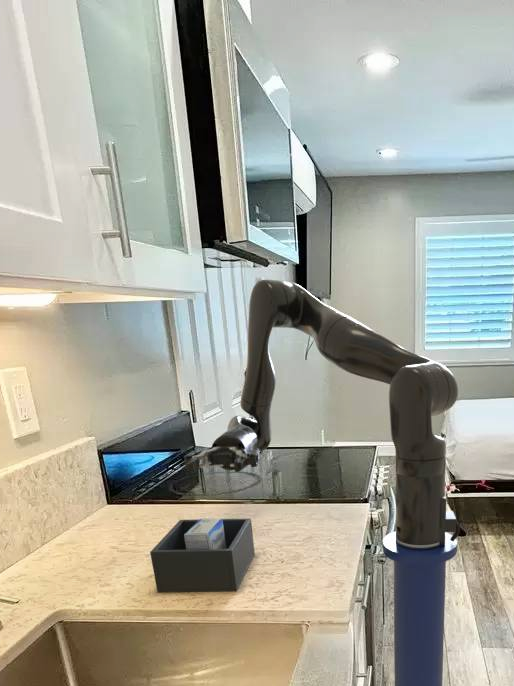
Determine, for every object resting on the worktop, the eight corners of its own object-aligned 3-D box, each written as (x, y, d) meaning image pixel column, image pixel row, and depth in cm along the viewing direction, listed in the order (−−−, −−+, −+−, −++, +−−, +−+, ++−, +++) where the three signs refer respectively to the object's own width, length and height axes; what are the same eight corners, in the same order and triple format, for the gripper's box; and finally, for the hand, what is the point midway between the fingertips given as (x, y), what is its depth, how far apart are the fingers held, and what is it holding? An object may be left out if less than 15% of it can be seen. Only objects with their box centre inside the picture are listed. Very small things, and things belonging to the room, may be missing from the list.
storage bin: (254, 554, 111) (250, 518, 108) (236, 591, 97) (231, 550, 94) (185, 556, 111) (180, 519, 109) (157, 593, 97) (149, 552, 94)
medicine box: (215, 579, 100) (208, 533, 97) (190, 579, 100) (183, 533, 97) (228, 560, 107) (223, 517, 104) (205, 560, 108) (199, 517, 104)
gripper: (198, 432, 122) (173, 449, 107) (264, 430, 121) (249, 446, 106) (203, 466, 124) (179, 487, 109) (268, 464, 124) (253, 485, 109)
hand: (213, 467), depth 108 cm, fingers open, 8 cm apart
